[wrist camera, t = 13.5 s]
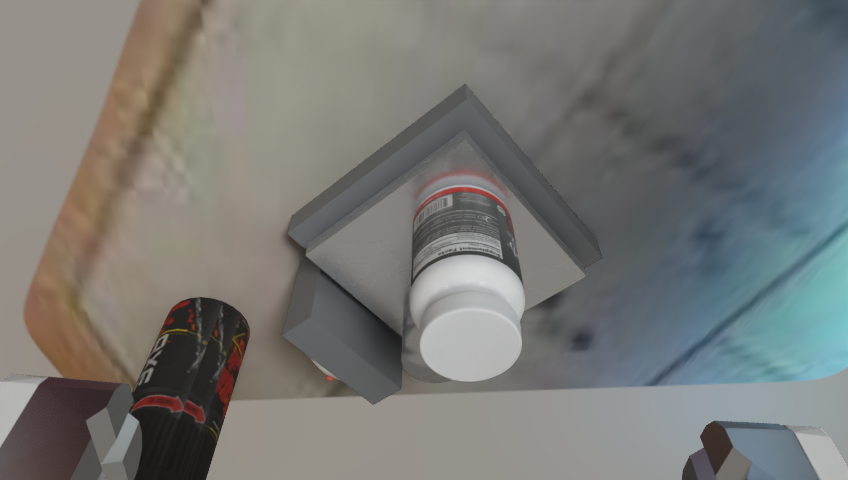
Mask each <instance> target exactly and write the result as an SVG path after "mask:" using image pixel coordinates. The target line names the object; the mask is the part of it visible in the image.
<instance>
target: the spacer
mask: <svg viewBox="0 0 848 480" xmlns="http://www.w3.org/2000/svg"><path fill="white" fill-rule="evenodd" d="M401 361H402V365H403V367H404V369H405V370H406V372H407V373H408V374H410V375H411V376H412V377H414V378H416V379H418V380H421V381H424V382H430V383H441V382H446V381H450V380H452V379H449V378H446V377H444V376H441V375H439V374H438V373H436V372H435V371H433V370H432V369H431V368H430V367H429V366H428V365H427V364H426V363H425V361H424V360H423V358H422V356H421V353H420V348H419V329H418V328H417V326H416V324H415V323H414V321H413V318H412V316H411V312H410V305H409V300H408V301H407V303H406V304H405V307H404V311H403V334H402V357H401Z"/></svg>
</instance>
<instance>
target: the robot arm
mask: <svg viewBox="0 0 848 480" xmlns="http://www.w3.org/2000/svg"><path fill="white" fill-rule="evenodd" d="M133 401H134V399H133V396H132V393H131V389H130V386H129V384H123V383H113V382H102V381H91V380H80V379H69V378H57V377H44V376H31V375H18V374H10V375H9V376H7V377H6V378H5V379H3V380H2V381H0V480H134V478H135V475H136V473H137V470H138V466H139V461H140V456H141V451H142V432H141V427H140V423H139V421H138V420H137V419H136V418H134V417H133V416H132V415H131V414H129V413H128V412H129V410H130V408H131V406H132V403H133ZM700 438H701V440H702V443H703V446H704V448H702V449H701V450H699V451H697V452H695V453H694V454H692V455H691V456H689V458H688V461H687V463H686V465H685V467H684V469H683V474H682V480H848V467H847V465H846V464H845V462H844V460H843V458H842V457H841V455H840V453H839V452H838V450H837V448H836V446H835V445H834V443H833V441H832V440H831V438H830V437H829V435H828V434H827V433H826V432H825V431H823V430H822V429H821V428H820V427H805V426H790V425H779V424H767V423H748V422H728V421H713V422H711V423H710V424H708V425H706V427H705V429H704V430H703V432H702V434H701V436H700Z"/></svg>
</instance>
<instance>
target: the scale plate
mask: <svg viewBox="0 0 848 480" xmlns="http://www.w3.org/2000/svg"><path fill="white" fill-rule="evenodd" d="M453 185H473V186H477V187H481V188H483V189H486V190H488V191H490V192H492V193H493V194H495V195H496V196H497V197H498V198H499V199H500V200H501V201H502V202H503V203H504V204H505V206H506V207H507V209H508V211H509V213H510V216H511V220H512V224H513V229H514V235H515V240H516V246H517V252H518V258H519V263H520V269H521V275H522V280H523V286H524V293H525V307H524V312H525V311H526V310H528V309H530V308H532V307H534V306H535V305H537V304H539V303H541V302H542V301H544V300H546V299H548V298H549V297H551V296H553V295H555V294H556V293H558V292H560V291H562V290H563V289H565V288H567V287H569V286H570V285H572V284H574V283H576V282H577V281H579V280H581V279H583V278H584V277H586V273H585V270H584V267H583V264H582V263H581V262H580V260H579V259H578V258H577V257H576V256H575V255H574V254H573V252H572V251H571V250H570V249H569V248H568V247H567V246H566V244H565V243H564V242H563V241H562V240H561V239H560V238H559V237H558V235H557V234H556V233H555V232H554V231H553V230H552V229H551V227H550V226H549V225H548V224H547V223H546V222H545V221H544V219H543V218H542V217H541V216H540V215H539V214H538V213H537V212H536V210H535V209H534V208H533V207H532V206H531V205H530V204H529V202H528V201H527V200H526V199H525V198H524V197H523V196H522V195H521V193H520V192H519V191H518V190H517V189H516V188H515V187H514V185H513V184H512V183H511V182H510V181H509V180H508V179H507V177H506V176H505V175H504V174H503V173H502V172H501V171H500V170H499V168H498V167H497V166H496V165H495V164H494V163H493V162H492V160H491V159H490V158H489V157H488V156H487V155H486V154H485V152H484V151H483V150H482V149H481V148H480V147H479V146H478V145H477V143H476V142H475V141H474V140H473V139H472V138H471V137H470V135H469V134H468V133H467V132H466V131H465V130H463V131H462V132H460V133H459V134H458V135H456V136H455V137H453V138H452V139H451V140H449V141H448V142H447V143H445V144H444V145H442V146H441V147H440V148H438V149H437V150H436V151H434V152H433V153H431V154H430V155H429V156H427V157H426V158H425V159H423V160H422V161H420V162H419V163H418V164H416V165H415V166H414V167H412V168H411V169H409V170H408V171H407V172H405V173H404V174H403V175H401V176H400V177H399V178H397V179H396V180H394V181H393V182H392V183H390V184H389V185H388V186H386V187H385V188H383V189H382V190H381V191H379V192H378V193H377V194H375V195H374V196H372V197H371V198H370V199H368V200H367V201H366V202H364V203H363V204H361V205H360V206H359V207H357V208H356V209H355V210H353V211H352V212H350V213H349V214H348V215H346V216H345V217H344V218H342V219H341V220H339V221H338V222H337V223H335V224H334V225H333V226H331V227H330V228H328V229H327V230H326V231H324V232H323V233H322V234H320V235H319V236H317V237H316V238H315V239H313V240H312V241H311V242H309V243H308V246H307V250H306V254H305V256H307V257H308V258H309V259H310V260H311V261H313V262H314V263H315V264H316V265H317V266H319V267H320V268H321V269H322V270H323V271H324V272H326V273H327V274H328V275H329V276H330V277H332V278H333V279H334V280H335V281H336V282H337V283H339V284H340V285H341V286H342V287H343V288H345V289H346V290H347V291H348V292H349V293H350V294H352V295H353V296H354V297H355V298H356V299H358V300H359V301H360V302H361V303H362V304H363V305H365V306H366V307H367V308H368V309H369V310H371V311H372V312H373V313H374V314H375V315H376V316H378V317H379V318H380V319H381V320H382V321H384V322H385V323H386V324H387V325H388V326H389V327H391V328H392V329H393V330H394V331H395V332H397V333H398V334H399V335H400V336H401V337H402V334H403V311H404V307H405V304H406V303H407V301H408V300H409V289H410V261H411V233H412V222H413V218H414V215H415V212H416V211H417V209H418V207H419V205H420V204H421V203H422V202H423V201H424V200H425V199H426V198H427V197H428V196H429V195H431V194H432V193H434V192H436V191H438V190H440V189H442V188H445V187H448V186H453Z"/></svg>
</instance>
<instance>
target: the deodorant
mask: <svg viewBox="0 0 848 480" xmlns="http://www.w3.org/2000/svg"><path fill="white" fill-rule="evenodd" d="M249 336H250V328H249V326H248V323H247V321H246V319H245V318H244V317H243V315H242V314H241V313H240V312H239V311H237V310H236V309H235V308H234V307H232V306H230V305H228V304H226V303H224V302H222V301H219V300H215V299H211V298H202V297H200V298H190V299H187V300H184V301H181V302H179V303H178V304H176V305H175V306H174V307H173V308H172V309H171V311H170V312H169V314H168V316H167V318H166V321H165V323H164V325H163V327H162V329H161V331H160V334H159V336H158V338H157V340H156V342H155V344H154V347H153V349H152V351H151V353H150V355H149V357H148V360H147V362H146V364H145V366H144V368H143V370H142V373H141V375H140V377H139V379H138V381H137V383H136V386H135V388H134V390H133V392H132V396H133V399H134V401H133V403H132V406H131V408H130V410H129V412H128V413H129V414H131V415H132V416H133V417H134V418H136V419H137V420H138V421H139V423H140V427H141V432H142V451H141V456H140V461H139V466H138V470H137V473H136V475H135V478H134V480H206V477H207V474H208V471H209V467H210V464H211V461H212V458H213V454H214V451H215V448H216V445H217V441H218V438H219V434H220V431H221V428H222V425H223V422H224V418H225V415H226V411H227V409H228V405H229V402H230V399H231V395H232V392H233V389H234V386H235V382H236V379H237V376H238V372H239V369H240V366H241V363H242V359H243V356H244V353H245V350H246V346H247V343H248V340H249Z"/></svg>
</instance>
